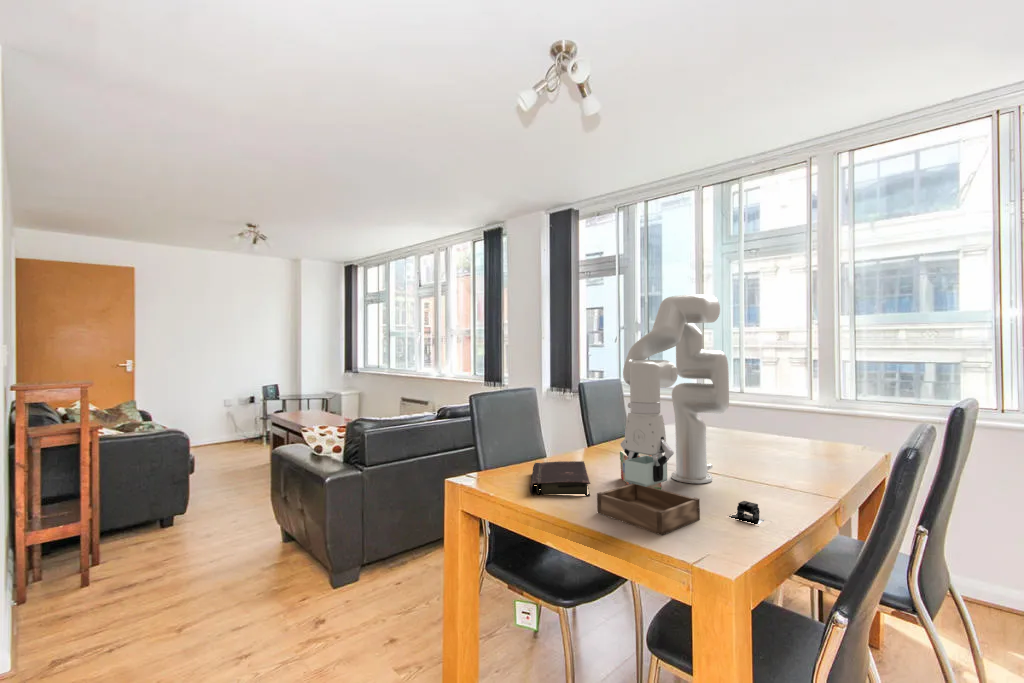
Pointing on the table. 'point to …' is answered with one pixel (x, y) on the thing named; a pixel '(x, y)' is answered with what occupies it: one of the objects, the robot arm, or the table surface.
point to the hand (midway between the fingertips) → (646, 477)
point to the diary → (560, 477)
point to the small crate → (642, 471)
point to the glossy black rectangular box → (751, 509)
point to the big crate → (649, 508)
